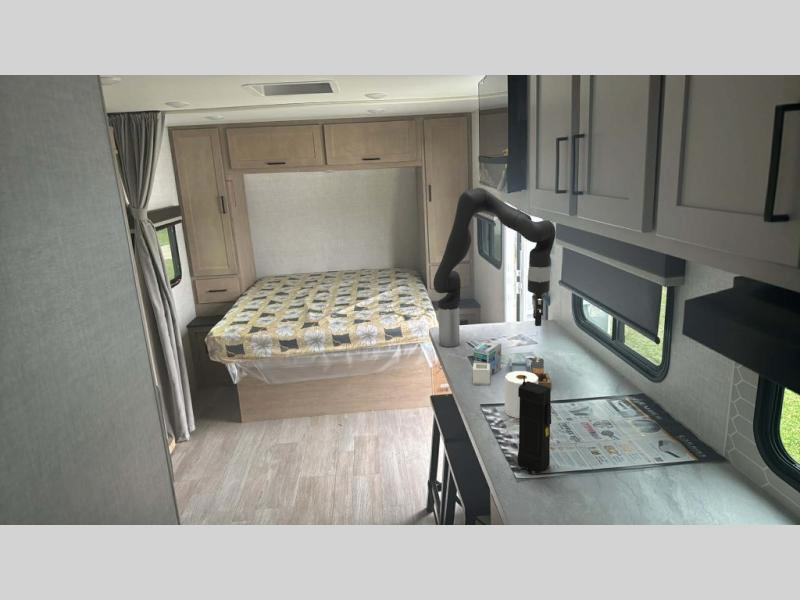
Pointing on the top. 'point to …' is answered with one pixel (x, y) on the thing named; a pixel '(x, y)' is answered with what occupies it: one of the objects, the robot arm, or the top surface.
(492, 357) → the light bulb box
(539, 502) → the top surface
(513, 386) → the toilet paper
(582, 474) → the top surface
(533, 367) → the cell
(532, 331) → the top surface
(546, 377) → the trough
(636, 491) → the top surface
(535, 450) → the portable radio
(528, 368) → the tray
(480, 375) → the pot
